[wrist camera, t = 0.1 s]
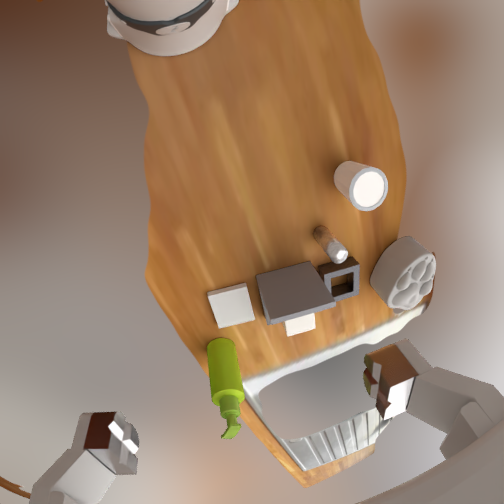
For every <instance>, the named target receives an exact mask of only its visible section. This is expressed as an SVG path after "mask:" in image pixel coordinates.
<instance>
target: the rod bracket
mask: <svg viewBox="0 0 504 504" xmlns="http://www.w3.org/2000/svg"><path fill="white" fill-rule="evenodd" d="M318 268H319V276H320V277H321V279H322V281H323V282H324V284H325V285H326V287H327V288H328V290H329V291H330V293H331V295H332V296H333V298H334V299H335V301H339V300H343V299H346V298H349V297H352V296H355V295H358V294H359V270H360V264H359V263H358V262H357V261H356V260H355V259H354V258H353V256H352V257H349V258H346V260H345V261H343V262H342V263H338V264H337V263H334V262H331V263H327V264H323V265H320V266H318ZM344 274H347V283H344V284H341V285H338V286H334V287H331V278H334V277H337V276H341V275H344Z"/></svg>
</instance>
